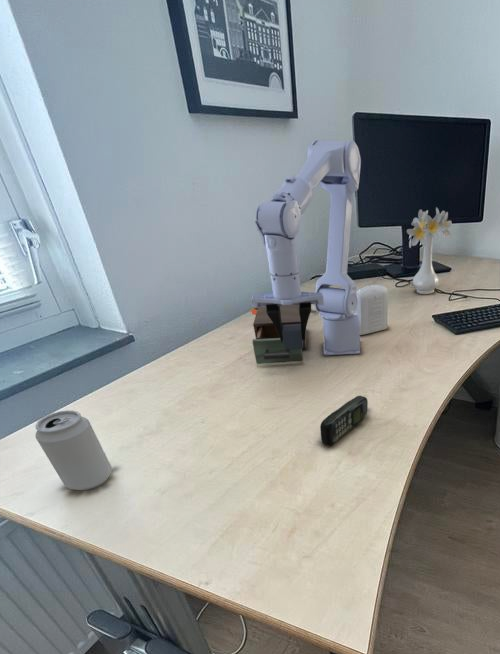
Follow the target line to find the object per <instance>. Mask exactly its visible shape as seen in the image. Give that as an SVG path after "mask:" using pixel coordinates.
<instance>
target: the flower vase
mask: <svg viewBox="0 0 500 654" xmlns="http://www.w3.org/2000/svg"><path fill="white" fill-rule="evenodd" d="M417 214H418V215H417V217H413V220H412V221H411V224H410V225H411V226H413V228H408V229H406V233H407V235H408V236H410V237H411V236H412V237H413V238H412V239H411V246H412V247H415V246H417V245H418V243H420V244H421V245H422V246H423V249H422V250H423V251H422V259H421V260H422V261H421V265H420V267H419V270H418V271H417V273H416V274H415V275H414V276H413V278H412V282H411V283H412V285H413V287H414V288H415V289H416V293H417V294H420V295H431V294H434V292H435V289H437V288H438V286H439V285H440V278H439V276H438V275H437V273H436V272H435V270H434V266H433V245H434V240H435V241H437V240H438V238H439V233H438V232H442V235H443V238H446V237H447V238H448V239H451V233H450V231H449V229H450V228H451V227H452V225H453V223H452V220H448V218H449V212H448V211H445V210H442V211H441V212H440V210H439V208H438V207H437V206H436V207H435V216H434V217H431V216H430V215H429V210H428V209H427V210H426V211H423V209H419V210H418V212H417Z"/></svg>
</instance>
